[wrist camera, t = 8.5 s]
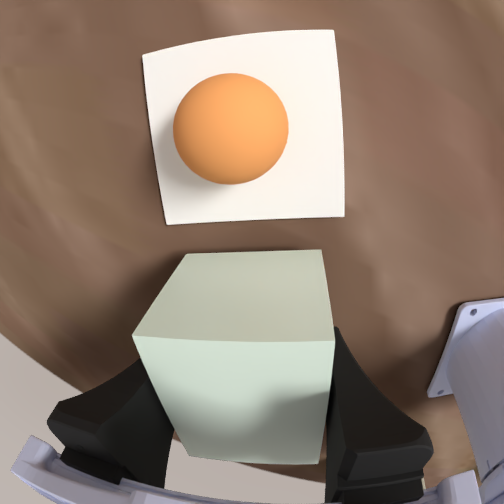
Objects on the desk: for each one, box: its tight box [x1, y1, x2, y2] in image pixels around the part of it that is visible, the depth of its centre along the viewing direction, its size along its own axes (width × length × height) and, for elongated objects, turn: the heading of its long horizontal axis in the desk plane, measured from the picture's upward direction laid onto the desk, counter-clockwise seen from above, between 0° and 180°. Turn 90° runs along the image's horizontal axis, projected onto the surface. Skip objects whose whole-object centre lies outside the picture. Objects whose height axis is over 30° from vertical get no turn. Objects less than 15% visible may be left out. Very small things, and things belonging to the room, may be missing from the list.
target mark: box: [142, 30, 344, 225], centre depth 12 cm, size 8×8×1 cm
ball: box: [173, 73, 289, 185], centre depth 10 cm, size 4×4×4 cm
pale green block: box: [132, 250, 335, 464], centre depth 12 cm, size 6×8×6 cm
